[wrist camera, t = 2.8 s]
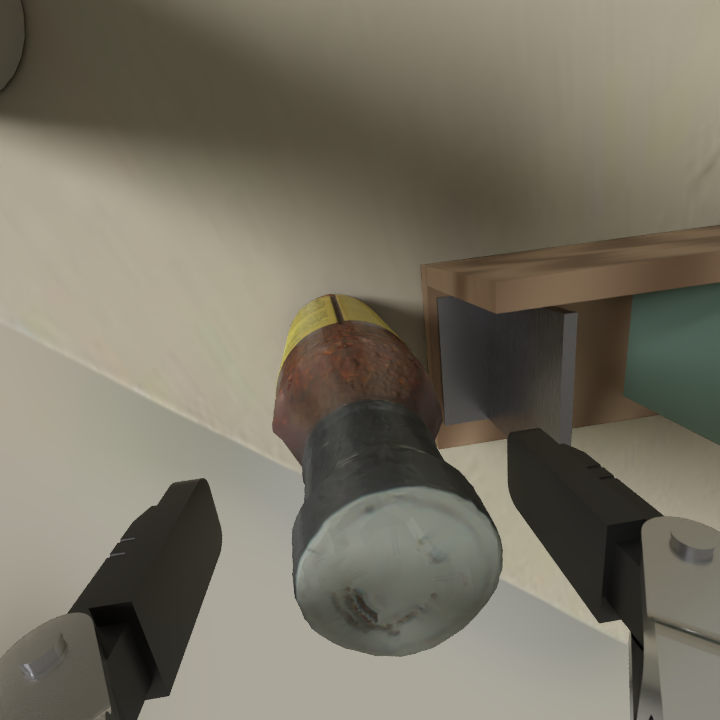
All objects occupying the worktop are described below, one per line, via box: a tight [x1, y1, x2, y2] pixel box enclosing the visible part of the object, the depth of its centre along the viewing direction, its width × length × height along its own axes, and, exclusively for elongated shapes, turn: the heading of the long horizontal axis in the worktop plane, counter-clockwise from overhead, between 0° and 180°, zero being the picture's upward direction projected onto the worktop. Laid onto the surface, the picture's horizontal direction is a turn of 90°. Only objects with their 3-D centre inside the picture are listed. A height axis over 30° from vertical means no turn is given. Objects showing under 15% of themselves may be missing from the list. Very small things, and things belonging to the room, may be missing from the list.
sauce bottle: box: [272, 294, 503, 657], centre depth 16 cm, size 7×6×20 cm
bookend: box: [436, 295, 578, 446], centre depth 21 cm, size 4×9×8 cm, turn 7°
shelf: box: [421, 225, 720, 449], centre depth 22 cm, size 24×13×12 cm, turn 97°
